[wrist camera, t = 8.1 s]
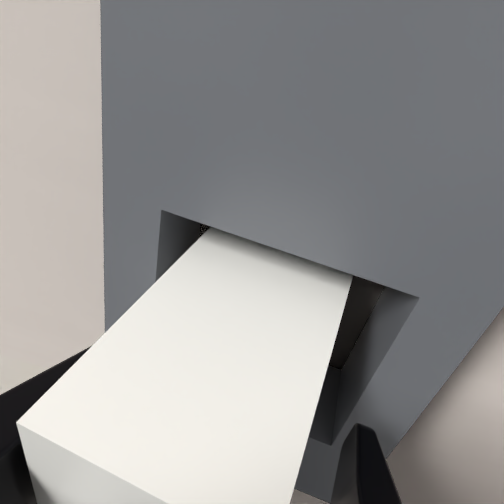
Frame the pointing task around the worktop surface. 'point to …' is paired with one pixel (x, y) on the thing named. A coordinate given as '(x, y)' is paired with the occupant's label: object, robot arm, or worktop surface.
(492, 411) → the worktop surface
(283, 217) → the grey board with hole
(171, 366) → the plug block
